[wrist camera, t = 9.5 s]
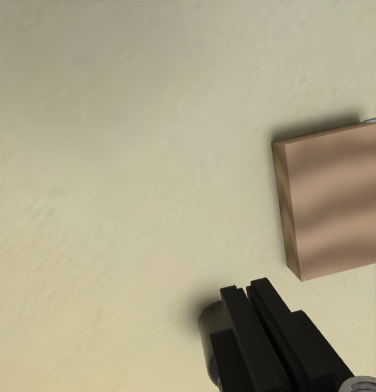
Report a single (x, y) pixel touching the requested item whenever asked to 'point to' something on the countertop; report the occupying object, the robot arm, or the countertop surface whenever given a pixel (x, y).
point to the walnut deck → (328, 199)
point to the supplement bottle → (209, 323)
